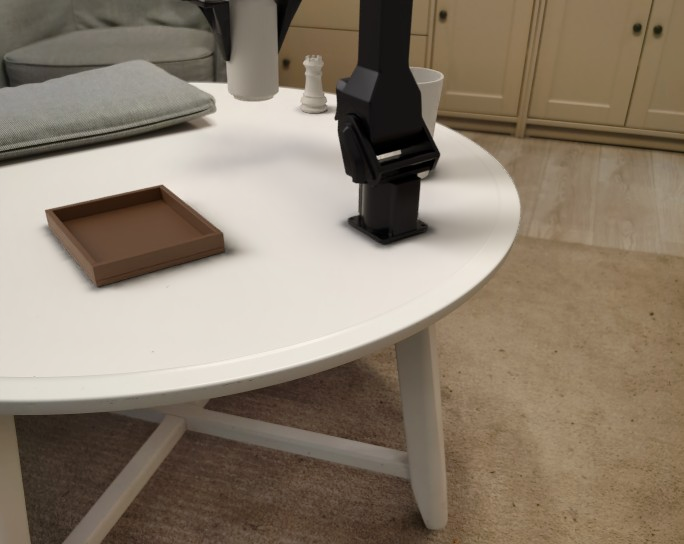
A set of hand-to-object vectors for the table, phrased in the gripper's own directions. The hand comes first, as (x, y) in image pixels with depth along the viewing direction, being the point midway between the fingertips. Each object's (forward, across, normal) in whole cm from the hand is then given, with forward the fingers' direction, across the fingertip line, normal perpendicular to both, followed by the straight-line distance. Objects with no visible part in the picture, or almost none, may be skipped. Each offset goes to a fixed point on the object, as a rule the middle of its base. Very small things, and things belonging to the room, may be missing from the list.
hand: (251, 57), depth 87 cm
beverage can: (+5, 0, 0) cm, 5 cm away
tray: (+13, +22, +15) cm, 30 cm away
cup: (+13, -14, +14) cm, 24 cm away
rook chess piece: (+13, -18, -15) cm, 27 cm away
